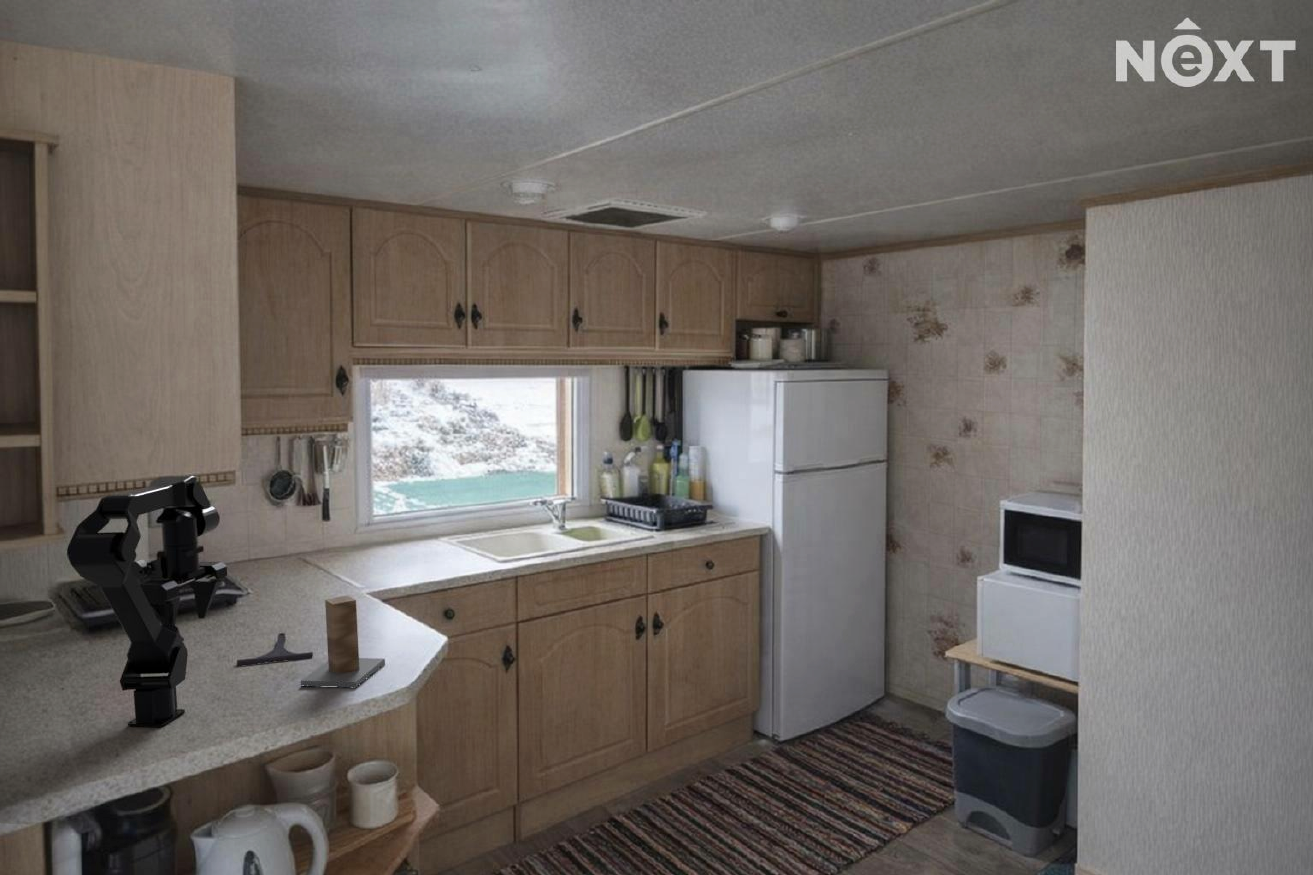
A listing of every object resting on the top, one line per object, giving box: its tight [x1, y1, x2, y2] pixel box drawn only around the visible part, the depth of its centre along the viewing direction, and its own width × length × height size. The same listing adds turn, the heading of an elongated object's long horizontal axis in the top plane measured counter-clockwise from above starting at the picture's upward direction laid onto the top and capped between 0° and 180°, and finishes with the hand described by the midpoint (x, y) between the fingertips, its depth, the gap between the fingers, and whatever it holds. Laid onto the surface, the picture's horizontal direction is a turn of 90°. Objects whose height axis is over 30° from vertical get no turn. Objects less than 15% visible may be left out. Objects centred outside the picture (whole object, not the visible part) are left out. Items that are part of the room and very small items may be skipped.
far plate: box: [300, 657, 386, 689], centre depth 172 cm, size 13×11×1 cm
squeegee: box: [236, 632, 314, 667], centre depth 187 cm, size 14×15×3 cm
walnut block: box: [324, 595, 360, 675], centre depth 171 cm, size 4×4×14 cm
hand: (186, 625), depth 163 cm, fingers open, 9 cm apart
